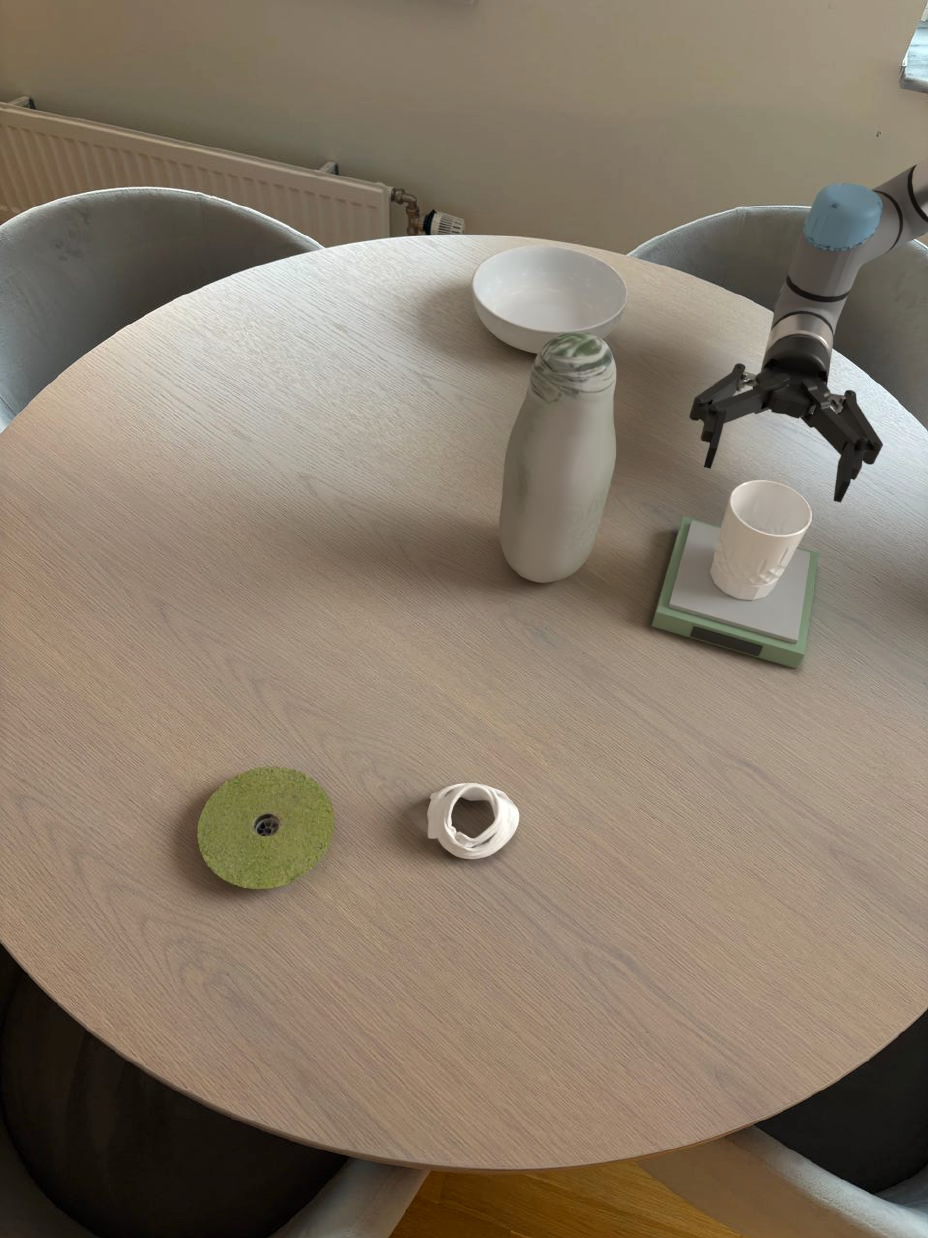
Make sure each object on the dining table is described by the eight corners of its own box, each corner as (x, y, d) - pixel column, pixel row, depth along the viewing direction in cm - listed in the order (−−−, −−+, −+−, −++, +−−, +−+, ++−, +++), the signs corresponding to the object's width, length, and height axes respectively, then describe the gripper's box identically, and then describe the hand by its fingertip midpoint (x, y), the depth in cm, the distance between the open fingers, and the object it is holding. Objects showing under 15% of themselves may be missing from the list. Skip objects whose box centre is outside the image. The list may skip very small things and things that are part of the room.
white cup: (795, 586, 99) (829, 516, 91) (741, 616, 95) (772, 547, 88) (741, 539, 103) (769, 469, 95) (688, 567, 99) (712, 497, 92)
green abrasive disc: (347, 879, 78) (347, 869, 77) (209, 914, 76) (205, 904, 74) (321, 765, 85) (320, 753, 84) (193, 793, 83) (190, 782, 81)
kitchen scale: (811, 567, 105) (820, 548, 102) (796, 671, 95) (806, 653, 93) (678, 531, 107) (684, 511, 105) (650, 628, 98) (656, 609, 95)
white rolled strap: (512, 796, 85) (520, 764, 82) (520, 863, 81) (530, 831, 77) (423, 795, 84) (428, 762, 81) (426, 863, 79) (432, 831, 76)
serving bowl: (460, 289, 136) (463, 244, 131) (602, 288, 139) (610, 243, 134) (477, 377, 123) (481, 331, 118) (634, 374, 126) (644, 329, 120)
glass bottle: (526, 519, 107) (559, 296, 85) (604, 560, 103) (660, 338, 82) (476, 570, 102) (498, 345, 80) (557, 615, 98) (603, 393, 77)
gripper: (891, 414, 112) (883, 532, 99) (684, 364, 116) (649, 471, 103) (918, 360, 106) (914, 478, 93) (699, 309, 110) (665, 416, 97)
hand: (775, 475), depth 98 cm, fingers open, 13 cm apart
